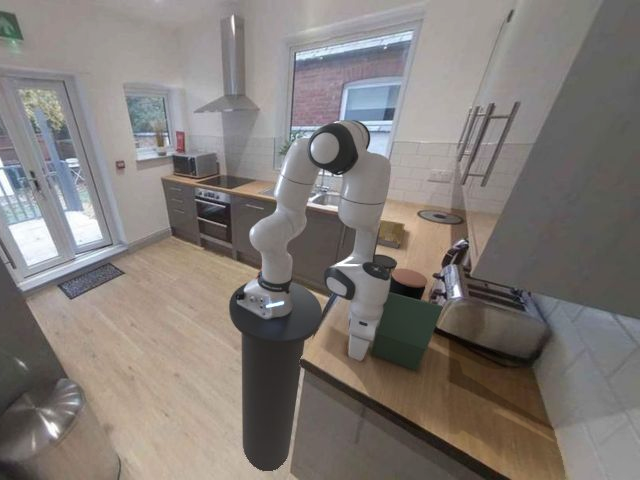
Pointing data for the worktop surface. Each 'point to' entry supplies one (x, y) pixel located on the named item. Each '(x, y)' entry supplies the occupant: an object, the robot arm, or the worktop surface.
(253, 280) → the robot arm
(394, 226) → the small cardboard box
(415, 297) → the coffee jar
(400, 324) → the green flat square panel
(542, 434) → the worktop surface
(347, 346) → the block
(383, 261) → the coffee can
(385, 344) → the chest
